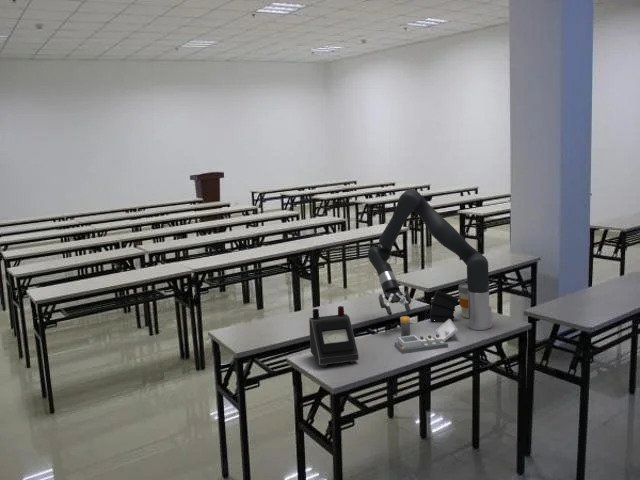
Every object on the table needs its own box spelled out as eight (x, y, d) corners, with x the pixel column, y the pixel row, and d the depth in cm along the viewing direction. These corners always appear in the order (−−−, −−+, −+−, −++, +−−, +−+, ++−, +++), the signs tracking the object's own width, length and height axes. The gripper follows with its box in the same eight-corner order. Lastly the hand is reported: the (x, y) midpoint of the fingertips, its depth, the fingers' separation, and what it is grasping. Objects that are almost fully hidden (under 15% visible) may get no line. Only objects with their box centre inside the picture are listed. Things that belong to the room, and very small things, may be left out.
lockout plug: (408, 337, 261) (407, 315, 260) (411, 340, 257) (410, 318, 256) (400, 338, 261) (399, 316, 259) (403, 341, 257) (402, 319, 255)
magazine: (423, 316, 283) (436, 289, 280) (448, 327, 283) (461, 299, 281) (424, 319, 279) (437, 290, 277) (449, 329, 279) (462, 301, 277)
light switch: (462, 334, 252) (455, 324, 266) (455, 326, 251) (448, 316, 265) (447, 347, 253) (440, 336, 267) (440, 339, 252) (434, 329, 266)
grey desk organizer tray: (439, 339, 255) (438, 330, 255) (447, 347, 246) (447, 338, 245) (394, 345, 252) (394, 336, 251) (402, 353, 242) (401, 344, 242)
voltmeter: (319, 368, 231) (317, 319, 228) (310, 355, 247) (308, 309, 244) (359, 363, 235) (357, 315, 232) (347, 350, 250) (345, 305, 248)
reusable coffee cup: (474, 320, 276) (474, 289, 274) (453, 316, 286) (452, 285, 284) (490, 315, 284) (490, 285, 282) (469, 310, 294) (468, 281, 292)
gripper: (376, 280, 267) (386, 311, 258) (405, 276, 271) (416, 307, 262) (372, 289, 273) (383, 319, 264) (401, 285, 277) (412, 315, 268)
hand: (399, 313), depth 263 cm, fingers open, 8 cm apart
